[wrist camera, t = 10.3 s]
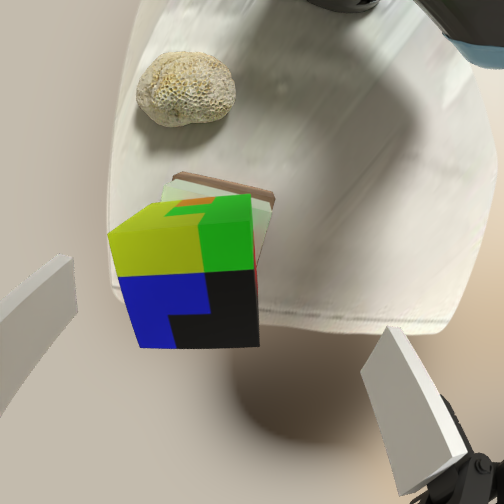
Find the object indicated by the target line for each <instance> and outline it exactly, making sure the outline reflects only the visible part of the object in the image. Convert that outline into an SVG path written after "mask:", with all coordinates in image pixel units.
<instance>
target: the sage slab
mask: <svg viewBox="0 0 504 504" xmlns="http://www.w3.org/2000/svg"><path fill="white" fill-rule="evenodd" d="M227 195H240V194H236V193H232V192H228V191H224V190H220V189H216V188H212V187H208V186H204V185H200V184H196V183H192V182H188V181H183V180H179V179H175V180H173V181H171V182H169V183H167V184H166V185H164V187H163V192H162V197H161V202H167V201H176V200H185V199H195V198H205V197H216V196H227ZM251 204H252V217H253V230H254V244H255V257H256V264H257V261H258V258H259V255H260V251H261V248H262V245H263V242H264V238H265V235H266V232H267V228H268V225H269V222H270V219H271V215H272V210H271V206H270V203H269V202H266V201H262V200H259V199H255V198H251Z"/></svg>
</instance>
